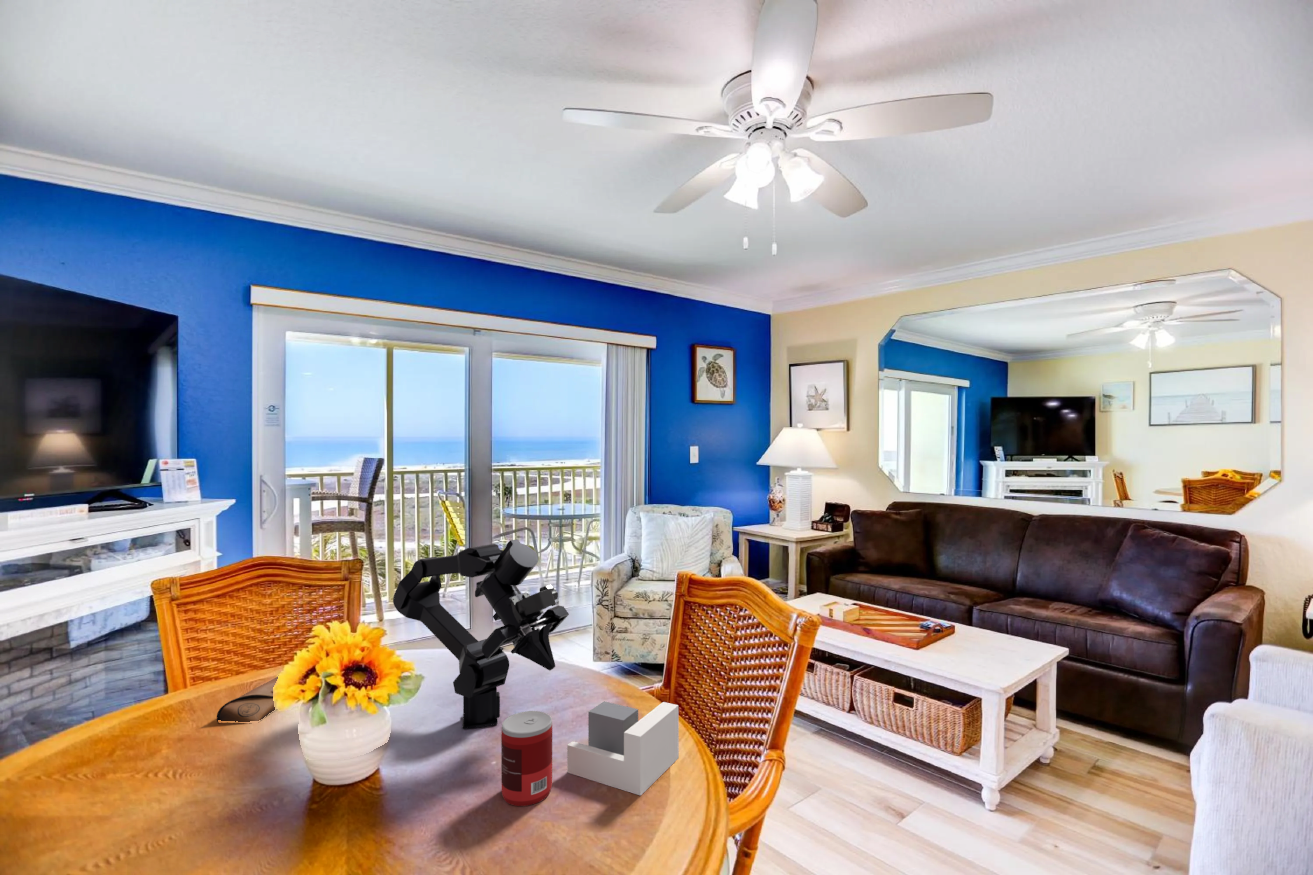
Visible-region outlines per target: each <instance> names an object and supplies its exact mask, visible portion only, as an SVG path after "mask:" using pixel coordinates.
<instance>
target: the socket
mask: <svg viewBox="0 0 1313 875" xmlns="http://www.w3.org/2000/svg"><path fill="white" fill-rule="evenodd" d="M679 729H680V728H679V705H678V704H674V703H669V702H666V701H663V702H661V703H660V704H659V705H657V706H656V707H654V708H653V709H652V710H651V711H650V712H648V713H647V714H645V715H644V716H643V717H642V718H640V719H638V722H637V723H635V724H634V725H633V726H631V727H630V728H629V729H628V730H626V731H625V732H624V756H623V755H620V754H616V753H613V752H609V751H606V750H602V749H599V748H595V747H592V746H588V744H584V743H581V742H577V741H573V740H572V741H571V742H569V743H568V744H567V745H566V746H567V748H566V749H567V752H566V754H567V757H566V758H567V759H566V760H567V765H566V766H567V769H566V770H567V771H566V772H567V773H568V774H571V775H574V776H577V777H581V778H584V779H586V780H590V781H592V782H595V783H600V784H602V785H606V786H609V787H612V788H615V789H619V790H622V791H625V792H628V793H632V794H634V795H638V796H640V797H641V796H642V795H643V794H644V793H645V792H646V791H647V790H648V789H649V788H650V787H651V786H652V785H653V784H654V783H655V782H656V781H657V780H658V779H659V778H660V777H661V776H662V775H663V774H664V773H665V772H666V771H667V770H668V769H669V768H671V766H672V765H673V764H674V763H675V762H676V761H677V760H678V759H679V754H680V753H679V752H680V751H679V746H680V745H679V742H680V739H679V737H680V736H679Z"/></svg>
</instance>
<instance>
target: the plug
mask: <svg viewBox="0 0 1313 875" xmlns="http://www.w3.org/2000/svg"><path fill="white" fill-rule="evenodd" d="M587 712H588V714H587V715H588V718H587V719H588V720H587V721H588V724H587V725H588V727H587V728H588V729H587V731H588V732H587V733H588V735H587V736H588V739H587V740H588V741H587V742H588V744H587V745H588V746H592V747H595V748H599V749H602V750H606V751H609V752H613V753H616V754H620V755H623V756H624V732H625V731H626V730H628V729H629V728H630V727H631V726H633V725H634V724H635V723H637V722H638V721H639V709H638V708H634V707H629V706H626V705H621V704H617V703H612V702H610V701H602V702H600V703H599V704H598V705H596V706H594V707H593V708H592V709H590V710H589V711H587Z"/></svg>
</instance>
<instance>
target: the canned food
mask: <svg viewBox="0 0 1313 875" xmlns="http://www.w3.org/2000/svg"><path fill="white" fill-rule="evenodd" d="M500 737H501V739H500V741H501V742H500V743H501V744H500V747H501V750H500V751H501V752H500V754H501V755H500V756H501V758H500V759H501V768H500V770H501V776H500V777H501V795H502V797H503V800H504V802H506V803H507V804H508V805H511V806H515V807H528V806H533V805H535V804H538V803H540V802H542V801H543V800H545V799H546V798H547V797H548V796H549V795H550V793H551V791H552V787H553V718H552V716H551V715H550V714H548V713H547V712H543V711H538V710H526V711H521V712H517V713H514V714H512V715H509V716H508V717H506V718H505V719H504V720H503V721H502V723H501V734H500ZM532 804H533V805H532Z"/></svg>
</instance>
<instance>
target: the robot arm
mask: <svg viewBox="0 0 1313 875" xmlns="http://www.w3.org/2000/svg"><path fill="white" fill-rule="evenodd" d="M538 562H539V556H538V553H537V551H536V550H534V549H532V548H531V547H530V546H528V545H527V544H524V543H521V541H520V540H519V539H518V538H517V539H511V540H509V541H508V542H507V544H506V545H505V547H504V549H503V550H502V549H500V548H499V545H498V544H496V543H490V544H483V545H479V546H471V547H467V548H464V549H462V550H460V551H459V552H457V554H453V555H446V556H439V557H436V556H432V557H426V558H419V559H417V560H416V561H414V563H413V565H412V568H411V570H410V571H408V573H407V574H406V575H405V576H404V577H403V578H402V579H401V580H400V581H399V583H398V584H397V587H396V589H395V592H394V595H393V597H392V603H393V606H394V607H395V609H396V611H397V612H398V613H399V614H401V615H402V616H403V617H405V618H407V619H411V620H414V621H418V622H421V623H422V624H423V626H425V627H426V628H427V630H429V631H430V632H431V633H432V634H433V635H434V636H435V638H437V639H438V641H440V643H442V645H443V646H445V648H447V650H448V651H449V652H450V653H451V654H452V655H454V657H455V658H456V659H457V660H458V665H459V666H458V668H459V673H458V675H457V677H455V679H454V681H453V683H452V684H453V689H454V693H455V694H457V695H460V696H462V697H463V698H462V700H463V701H462V702H463V703H462V709H463V714H462V726H461V727H462V730H463V729H464V730H466V729H473V728H474V729H476V728H483V727H491V726H496V725H498V722H499V721H498V719H499V718H500V717H501V695H500V691H498V689H497V688H499V687H500V686H504V685H505V684H506V681H507V680H506V679H507V676H508V673H509V669H510V660H509V657H508V655H507V654H506V653H505V652H504V650H505V648H504V647H503V646H504V645H507V644H509V643H512V645H513V649H511V651H510V653H511V654H512V655H514V654H516V655H518V656H521V657H522V658H526V660H530V661H531V662H533V663H535V664H537V665H539V666H541V667H542V668H544V669H546V670H548V671H552V670H553V669H555V668H556V664H555V663H556V662H555V658H554V655H553V651H552V647H551V644H550V634H551V633H553V632H554V631H556V629H557V628H558V627H559V626H560V625H561V624H562V623H563V622H564V620H566V618H568V616H569V615H570V613H569V612H568V610H567V609H566V607H565V606H564V605H557V603H556V602H557V601H556V600H558V599H559V592H558V591H557V590H556V588H555V587H554V586H553V585H552V584H551V583H549V584H547V585H546V584H545V585H544V586H541V587H539V591H538V592H536V593H533V594H530V593H529V592H523V593H521V591H520V589H519V588H518V587H517V586H520V585H521V584H523V582H524V581H525V579H526V578H527V577H528V576H529V574H530V573H531V572H532V571H533V569H534V568H535V567H536V566H537V564H538ZM452 574H459V575H460V576H461V577H466V578H476V577H481V576H485V575H486V576H485V577H484V578H483V580H480V581H477V582H476V588H475V591H474V597H475V598H478V597H482V596H484V597H485V598H486V600H487V601H488V603H489V605H490V606H491V607H492V609H493V611H494V612H495V613H494V615H492V618H493V620H494V621H495V622H496V621H499V620H500V621H501V623H502V624H503V625H502V626H499V627H497V628H495V629H494V630H493V631H492V632H491V633H490V634H489V636H488V637H486V638H485V639H482V640H478V639H476V637H475V636H474V635H472V634H471V633H470V631H469V630H467V629H466V628H465V627H464V626H463V625H462V624H461V623H460V622H459V621H458V620H457V619H456V617H454V616H453V615H452V614H451V613H450V612H449V611H448V610H447V609H446V608H445V607H444V606H443V605H442V604H441V602H440V600H441V599H440V597H441V596H440V591H441V589H442V582H441V578H440V577H441V576H443V575H452ZM424 578H430V579H429V581H422V580H423V579H424ZM548 607H551V608H548ZM547 608H548V609H547ZM546 609H547V610H546ZM543 610H546V611H545V612H544V611H543ZM538 618H539V619H538Z"/></svg>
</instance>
